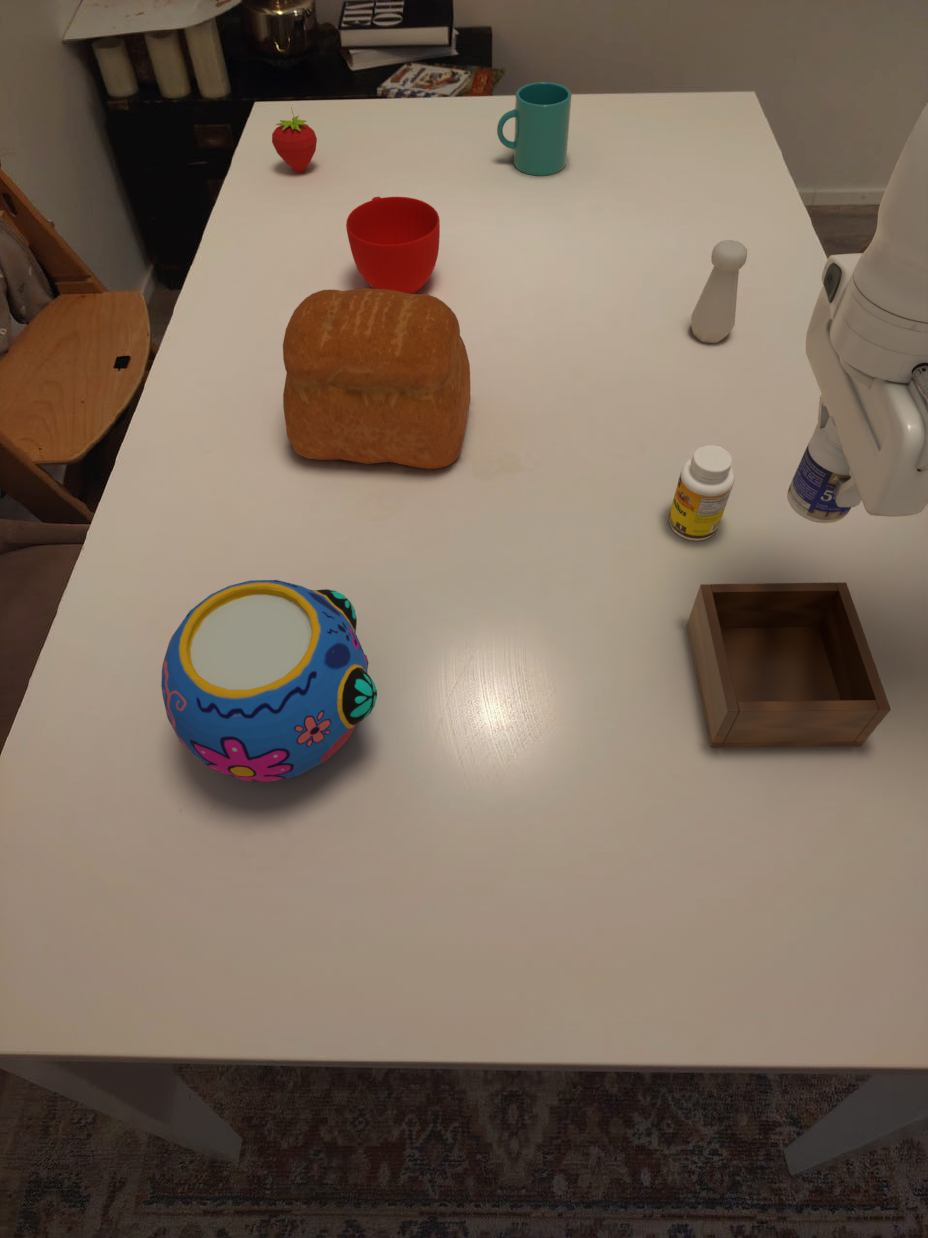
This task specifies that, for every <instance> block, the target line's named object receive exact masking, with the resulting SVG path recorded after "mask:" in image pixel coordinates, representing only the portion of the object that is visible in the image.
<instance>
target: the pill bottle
mask: <svg viewBox="0 0 928 1238" xmlns="http://www.w3.org/2000/svg"><path fill="white" fill-rule="evenodd" d="M849 471H850V468H849V465H848V463H847V460H846V457H845V455H844V452H843V449H842V447H841V444H840V442H839V439H838V436H837V429H836V426H835V423H834V421H833V418H832V416H830V418H829V420H828V422H827V424H826V426H825V427H824V428H822V429H820V430H818V431H817V432H816V433H815V434H814V435H813V434H812V436H811V438H810V439H809V441H808V443H807V445H806V448H805V450H804V453H803V455H802V457H801V460H800V461H799V464H798V466H797V468H796V471H795V472H794V475H793V477H792V479H791V482H790V483H789V487H788V489H787V493H786V495H787V496H786V497H787V502H788V504H789V506H790V507H791V509H792V510H793V511H794V512H795V513H796V514H797V515H798V516H799V517H802V518H803V519H805V520H808V521H811V522H814V523H819V524H831V523H836V522H839V521H841V520H842V519H844V518H845V517H846V516H847V515H848V514H849V513H850V510H851V509H852V507H839V506H837V504H836V501H835V498H834V495H833V489H834V488H835V486H836V483H837V481H838V479H839V478H847V479H850V478H851V477H850V475H849Z"/></svg>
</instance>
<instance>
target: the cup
mask: <svg viewBox="0 0 928 1238" xmlns="http://www.w3.org/2000/svg"><path fill="white" fill-rule="evenodd" d="M514 102H515V103H514V104H515V106H514V109H511V110H508V111H506V112H505V113H504V114H503V115H502V116H501V117H500V118H499V120H498V123H497V127H496V134H497V138H498V140H499V142H500V143H501V144H502V146H504V147H506V148H507V149H510V150H513V164H514V166H515V168H516V169H517V170H518V171H519V172H521V173H523V174H526V175H529V176H536V177H545V176H551V175H555V174H557V173H560V172H561V171H562V170H563V169H564V168H565V167H566V164H567V157H568V146H569V145H568V143H569V133H570V132H569V131H570V121H571V120H570V119H571V109H572V92H571V90H570V89H569V88H568V87H567V86H565V85H562V84H560V83H557V82H551V81H550V82H549V81H538V82H536V81H535V82H532V83H531V82H530V83H527V84H524V85H522V86H520V87H519V88H518V89H517V90H516V91H515V101H514ZM512 118H514V134H513V135H514V136H513V137H514V138H513V141H510V140H508V138H506V136H505V135H504V131H503V129H504V127H505V124H506V123H507V121H509V120H511V119H512Z"/></svg>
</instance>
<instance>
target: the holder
mask: <svg viewBox="0 0 928 1238" xmlns="http://www.w3.org/2000/svg"><path fill="white" fill-rule="evenodd" d="M686 630H687V635H688V642H689V646H690V651H691V656H692V660H693V665H694V672H695V676H696V681H697V686H698V691H699V697H700V701H701V706H702V707H701V708H702V711H703V717H704V722H705V728H706V732H707V737H708V740H709V747H710V748H772V747H773V748H774V747H776V748H780V747H781V748H782V747H786V748H787V747H788V748H789V747H862V746H863V745H864V743H865V742H866V741H867V740H868V739H869V738H870V736H871V735H872V734H873V732H874V731H875V730H876V728H878V726H879V725H880V724H881V722H882V721H883V720H884V719H885V717H886V716H887V715H888V714H889V712H890V711H892V710H891V706H890V703H889V700H888V697H887V694H886V692H885V688H884V686H883V683H882V681H881V677H880V675H879V671H878V668H877V666H876V663H875V660H874V657H873V654H872V652H871V649H870V645H869V643H868V639H867V637H866V634H865V632H864V628H863V626H862V623H861V620H860V617H859V614H858V611H857V608H856V606H855V603H854V600H853V598H852V595H851V592H850V589H849V586H848V583H847V582H843V581H842V582H772V583H770V582H769V583H767V582H765V583H761V582H760V583H709V584H707V583H705V584H703V583H702V584H699V588H698V591H697V594H696V597H695V599H694V603H693V605H692V608H691V611H690V614H689V617H688V619H687V622H686Z"/></svg>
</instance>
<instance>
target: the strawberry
mask: <svg viewBox="0 0 928 1238" xmlns="http://www.w3.org/2000/svg"><path fill="white" fill-rule="evenodd" d="M290 109H291V114H292V115H293V117H292V118H291V120H284V119H281V120H279V123H276V124H275V126H277V127H275V129H274V130H273V132H272V133H271V143H272V146H273V147H274V149H275V151H276V154H277V155H278V156H279V157H280V158H281V159H282V160H283V161H284V162H285V164H287V165H288V166H289V167H290V168H291V169H292V170H293V171H294V172H295V173H297V174H303V173H304V172H305V171H306V169H307V167H309V165H310V163H311V162H312V159H313V157H314V155H315V153H316V151H317V142H318V139H317V135H316V132H315V130H314V129H313V128H311V127H310V126H309V125H308V124H307V123H306V122H307V120H304V119H299V117H300V115H296V116H295V114H294V111H293V108H292V107H290Z"/></svg>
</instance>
